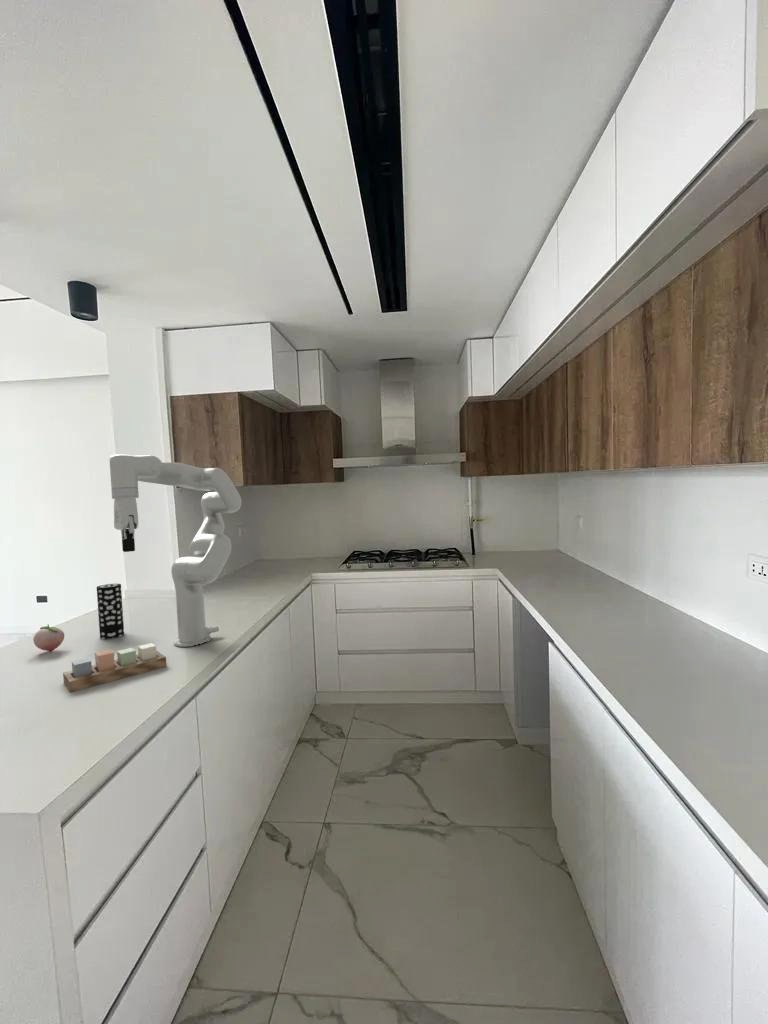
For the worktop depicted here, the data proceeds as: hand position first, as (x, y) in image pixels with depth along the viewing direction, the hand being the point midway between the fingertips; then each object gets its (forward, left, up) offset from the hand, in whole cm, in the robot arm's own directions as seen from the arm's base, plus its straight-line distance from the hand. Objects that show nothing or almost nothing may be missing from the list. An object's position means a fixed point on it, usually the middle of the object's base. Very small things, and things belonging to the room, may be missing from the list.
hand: (128, 551), depth 152 cm
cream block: (-2, +4, -36) cm, 36 cm away
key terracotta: (+10, +4, -34) cm, 36 cm away
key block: (+7, +4, -37) cm, 38 cm away
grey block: (+16, +4, -36) cm, 39 cm away
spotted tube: (-3, -43, -37) cm, 57 cm away
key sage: (+4, +4, -35) cm, 36 cm away
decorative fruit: (+18, -39, -37) cm, 57 cm away
